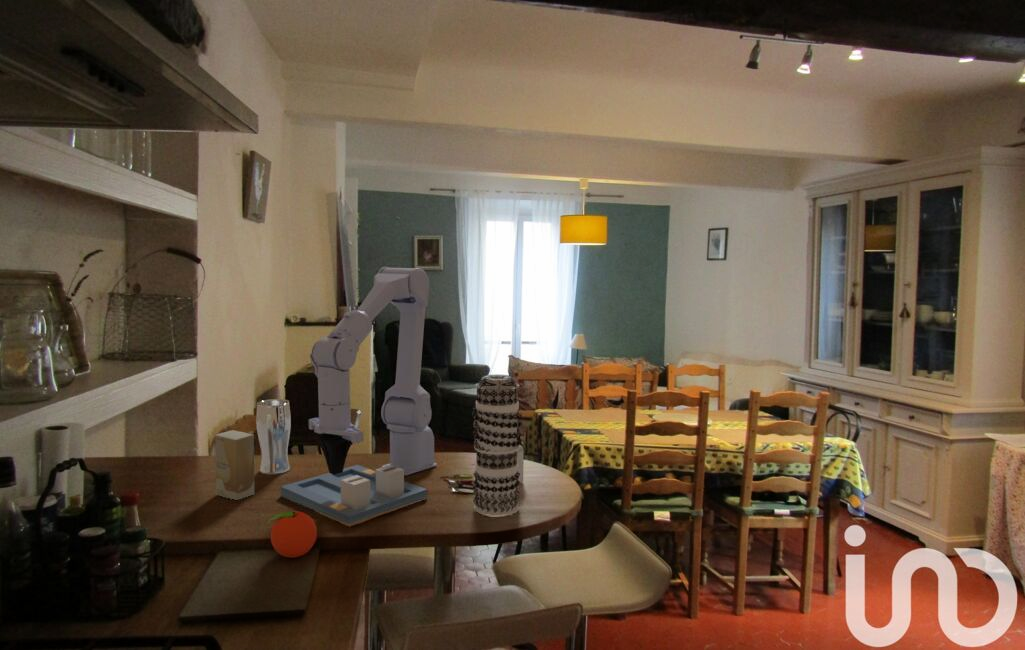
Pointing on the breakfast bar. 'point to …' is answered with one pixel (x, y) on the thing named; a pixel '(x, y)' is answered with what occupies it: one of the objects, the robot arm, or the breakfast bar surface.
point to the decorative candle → (496, 445)
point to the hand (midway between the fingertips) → (336, 472)
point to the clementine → (293, 534)
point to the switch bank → (327, 495)
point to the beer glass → (273, 435)
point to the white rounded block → (520, 463)
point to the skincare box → (234, 464)
